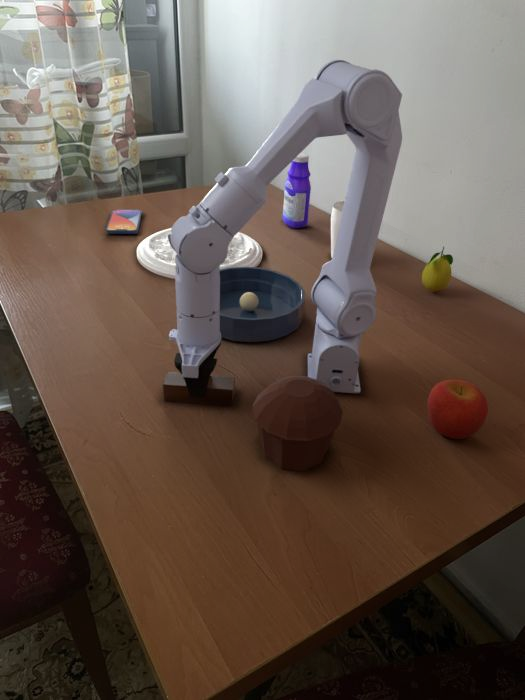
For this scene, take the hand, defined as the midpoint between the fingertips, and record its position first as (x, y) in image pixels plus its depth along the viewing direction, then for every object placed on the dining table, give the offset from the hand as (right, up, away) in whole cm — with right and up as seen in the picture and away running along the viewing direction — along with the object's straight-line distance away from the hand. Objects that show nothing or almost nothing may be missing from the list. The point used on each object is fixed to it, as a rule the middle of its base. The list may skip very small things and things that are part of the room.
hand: (199, 388), depth 80 cm
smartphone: (-25, +37, +56) cm, 71 cm away
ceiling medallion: (-5, +27, +44) cm, 52 cm away
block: (0, -1, +1) cm, 2 cm away
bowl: (+6, +12, +22) cm, 26 cm away
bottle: (+17, +38, +61) cm, 74 cm away
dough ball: (+7, +14, +21) cm, 26 cm away
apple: (+36, -6, -2) cm, 36 cm away
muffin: (+13, -8, -7) cm, 17 cm away
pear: (+44, +17, +33) cm, 58 cm away
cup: (+28, +26, +45) cm, 60 cm away
